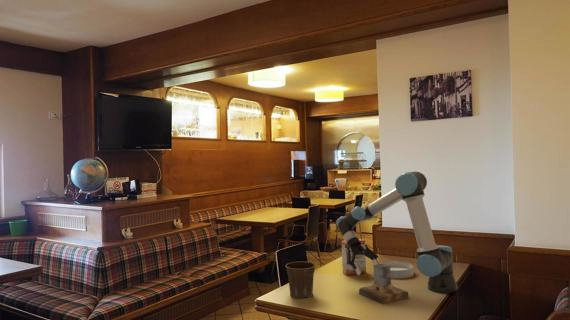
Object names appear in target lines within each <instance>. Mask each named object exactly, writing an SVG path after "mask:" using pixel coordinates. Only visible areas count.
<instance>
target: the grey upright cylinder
mask: <svg viewBox="0 0 570 320" xmlns="http://www.w3.org/2000/svg"><path fill="white" fill-rule="evenodd" d="M381 263H382V264H376V265H374V264H373V265H372V266H373V279H374V280H373V282H374V283H372V285H373V289H375V290H378V289H379V291H380V292H386V291H391V290H393V284H392V278H391V274H390V265H386V264H383V262H381Z"/></svg>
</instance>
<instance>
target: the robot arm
mask: <svg viewBox="0 0 570 320" xmlns="http://www.w3.org/2000/svg"><path fill="white" fill-rule="evenodd" d="M394 183H395V184H394V186H395V188H393V189H391V190H390V191H388V192H387V193H385V194H384V195H382V196H381V197H379V198H376V199H375V200H374V201H372V202H370V203H369V204H368V205H365V206H364V207H363V208H362V207H361V206H358V205H357V206H355V207H354V208H352V210H351V211H350V212H349V213H348V214H347V215H345V216H340V217H339V218H337V220H336V221H335V224H336V226H337V229H338V231H339V232H340V235H342V238H343V239H344V240H345V242H346V243H347V245H348V247H349V248H347V249H346V253H347V264H348V265H349V264H350V266H352V267H353V269H354V270H355V271H356V273H357V274H356V275H357V276H360V275H361V274H362V273H361V271H360V270H359V268H358V266H357V264H356V262H355V263H354V260H355V256H356V255H361V254H362V255H365V256H366V257H367V258H368V259H370V260H371V262H372V264H373V265H376V264H379V261H378V258H379V256H378V255H377V253H375V252H374V251H373V250H372V249H371V248H369V245H367V244H365V246H362V245H361V242H360V240H359V239H360V238H359V237H358V236H357V233H356V231H355V230H354V229H355V227H356V226H357V225H358V224H359V223H361V222H365V221H370V220H371V219H373V218H374V217H376V216H377V215H378V214H380V213H382V212H383V211H385V210H387V209H389V208H390V207H392V206H394V205H395V204H397V203H399V202H400V201H404V203H406V207H407V210H408V213H409V218H410V221H411V225H412V229H413V233H414V236H415V239H416V243H417V247H418V248H417V249H416V254H417V260H416V267H417V269H418V271H419V272H420V273H421V274H422V275H423V276H425V277H428V281H427V285H426V286H427V289H428V290H429V291H432V292H436V293H444V294H445V293H455V292H457V291H458V284H457V282H456V278H455V276H454V264H453V263H454V262H453V261H454V260H453V259H454V258H453V254H454V253H453V249H452V246H449V245H440V244H436V242H435V237H434V233H433V231H432V227H431V224H430V223H431V222H430V221H429V217H428V213H427V209H426V206H425V201H424V197H425V192H424V190H425V189H426V187H427V185H428V181H427V177H426V176H425V174H423V173H421V172H419V171H408V172H404V173H400V174H399V175H398V177H397V178H396V180H395V182H394ZM344 240H343V241H344ZM350 251H351V252H353V254H352V259H351V254H350ZM363 251H364V252H363Z"/></svg>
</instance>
